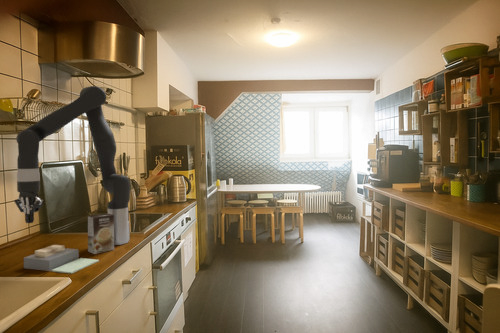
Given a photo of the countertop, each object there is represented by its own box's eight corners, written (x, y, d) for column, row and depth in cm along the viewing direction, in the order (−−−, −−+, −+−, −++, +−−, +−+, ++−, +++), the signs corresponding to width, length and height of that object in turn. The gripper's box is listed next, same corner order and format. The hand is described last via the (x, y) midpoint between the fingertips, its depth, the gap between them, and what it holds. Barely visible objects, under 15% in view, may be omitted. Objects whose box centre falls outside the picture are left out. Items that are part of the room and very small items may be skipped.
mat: (80, 259, 130) (80, 258, 130) (99, 261, 128) (99, 259, 128) (51, 271, 117) (51, 269, 117) (71, 273, 115) (71, 272, 115)
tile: (54, 249, 131) (54, 244, 130) (64, 250, 129) (64, 245, 129) (34, 256, 122) (34, 251, 122) (45, 257, 121) (45, 252, 120)
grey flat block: (55, 256, 134) (55, 247, 134) (78, 259, 131) (78, 249, 131) (23, 268, 120) (23, 257, 120) (49, 271, 117) (49, 260, 117)
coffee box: (94, 254, 136) (93, 217, 136) (87, 251, 141) (86, 215, 140) (114, 249, 144) (114, 214, 143) (107, 247, 148) (107, 212, 147)
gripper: (49, 179, 129) (50, 221, 130) (24, 179, 132) (25, 220, 133) (33, 181, 122) (34, 225, 122) (6, 180, 125) (7, 223, 126)
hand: (29, 222), depth 128 cm, fingers closed
